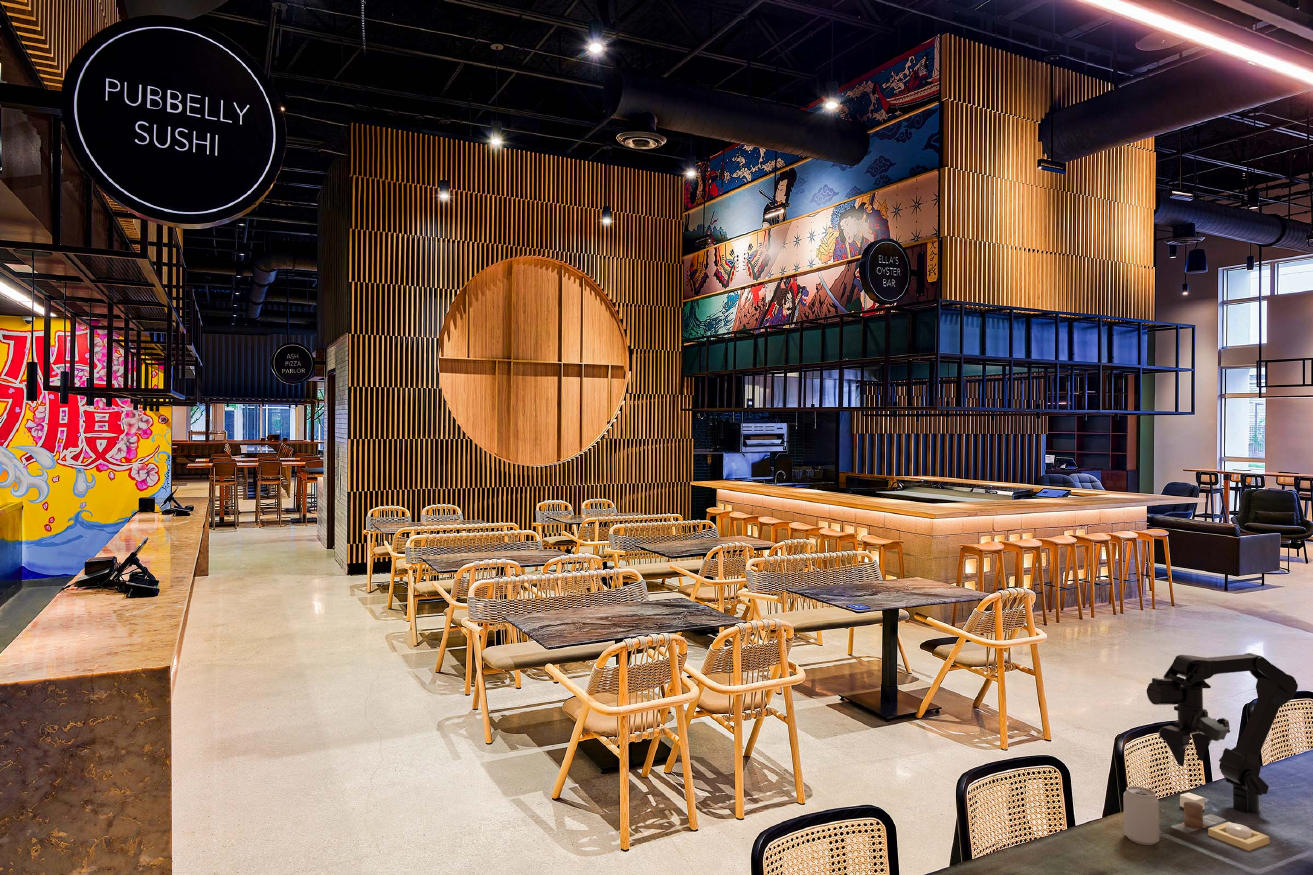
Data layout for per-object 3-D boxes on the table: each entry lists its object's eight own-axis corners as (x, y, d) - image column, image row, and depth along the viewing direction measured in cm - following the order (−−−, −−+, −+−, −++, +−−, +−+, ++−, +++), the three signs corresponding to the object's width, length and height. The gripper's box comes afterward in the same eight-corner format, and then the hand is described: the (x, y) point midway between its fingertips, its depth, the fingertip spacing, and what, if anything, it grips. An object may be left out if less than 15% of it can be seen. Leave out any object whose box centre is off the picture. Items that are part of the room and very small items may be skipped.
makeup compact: (1205, 814, 212) (1205, 811, 212) (1234, 825, 206) (1233, 821, 206) (1163, 827, 204) (1163, 824, 204) (1192, 839, 198) (1192, 835, 198)
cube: (1188, 807, 217) (1188, 792, 217) (1204, 812, 214) (1204, 797, 214) (1180, 809, 216) (1179, 794, 216) (1195, 815, 212) (1195, 800, 212)
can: (1124, 841, 196) (1124, 792, 197) (1123, 829, 203) (1122, 781, 203) (1160, 848, 193) (1159, 798, 193) (1158, 836, 199) (1157, 787, 200)
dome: (1233, 833, 200) (1233, 821, 200) (1255, 842, 195) (1255, 829, 195) (1221, 837, 197) (1221, 825, 198) (1244, 846, 193) (1243, 833, 193)
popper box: (1229, 831, 202) (1229, 821, 202) (1269, 846, 194) (1269, 836, 194) (1208, 838, 198) (1208, 828, 198) (1248, 854, 190) (1248, 843, 190)
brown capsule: (1190, 820, 207) (1189, 800, 207) (1206, 826, 203) (1206, 806, 203) (1180, 823, 205) (1180, 803, 205) (1196, 829, 201) (1196, 809, 202)
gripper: (1201, 717, 203) (1202, 779, 203) (1242, 707, 212) (1244, 767, 211) (1157, 705, 213) (1158, 764, 213) (1198, 696, 222) (1199, 754, 221)
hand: (1191, 763), depth 214 cm, fingers open, 9 cm apart
